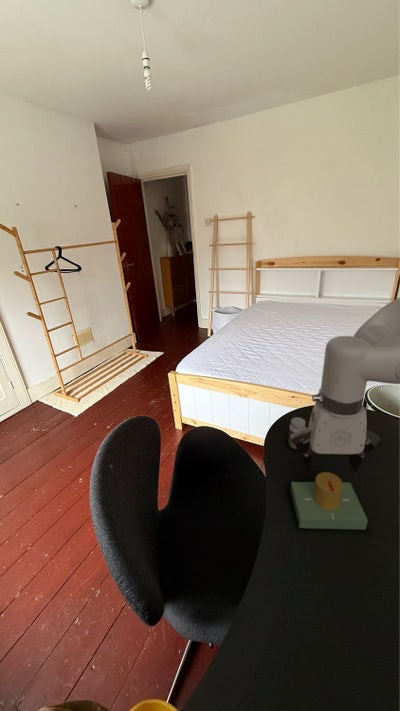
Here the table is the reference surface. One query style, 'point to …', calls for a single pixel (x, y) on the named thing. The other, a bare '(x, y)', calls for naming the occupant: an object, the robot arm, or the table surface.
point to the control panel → (317, 517)
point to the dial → (328, 491)
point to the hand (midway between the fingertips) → (329, 466)
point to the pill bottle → (296, 429)
